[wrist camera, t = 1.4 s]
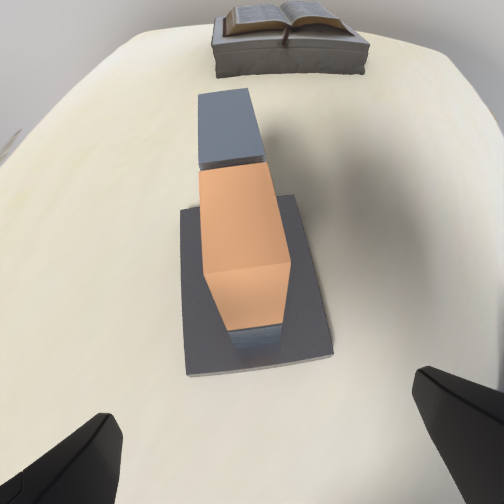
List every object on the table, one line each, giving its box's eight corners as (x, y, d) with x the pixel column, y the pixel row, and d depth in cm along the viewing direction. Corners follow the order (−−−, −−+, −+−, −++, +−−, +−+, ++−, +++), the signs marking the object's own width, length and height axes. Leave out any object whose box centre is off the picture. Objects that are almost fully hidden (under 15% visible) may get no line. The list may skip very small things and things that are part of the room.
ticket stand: (330, 357, 20) (396, 284, 10) (190, 377, 20) (108, 325, 10) (292, 203, 28) (301, 80, 17) (183, 218, 27) (143, 101, 17)
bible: (369, 91, 39) (380, 34, 31) (193, 82, 42) (184, 27, 33) (349, 42, 51) (353, 2, 42) (222, 36, 54) (218, -3, 45)
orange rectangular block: (282, 324, 17) (290, 262, 10) (227, 332, 16) (203, 274, 10) (268, 247, 19) (267, 162, 13) (219, 254, 19) (198, 171, 13)
